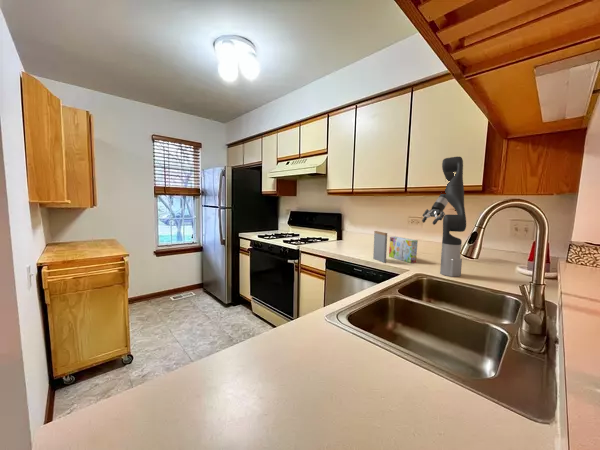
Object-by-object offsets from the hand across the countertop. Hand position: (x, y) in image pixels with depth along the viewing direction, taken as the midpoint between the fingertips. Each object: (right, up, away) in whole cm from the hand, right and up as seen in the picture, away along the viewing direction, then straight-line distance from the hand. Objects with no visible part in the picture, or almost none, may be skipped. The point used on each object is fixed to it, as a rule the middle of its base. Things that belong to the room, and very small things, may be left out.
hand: (428, 223), depth 182 cm
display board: (-36, -26, -6) cm, 45 cm away
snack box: (-19, -26, -1) cm, 32 cm away
